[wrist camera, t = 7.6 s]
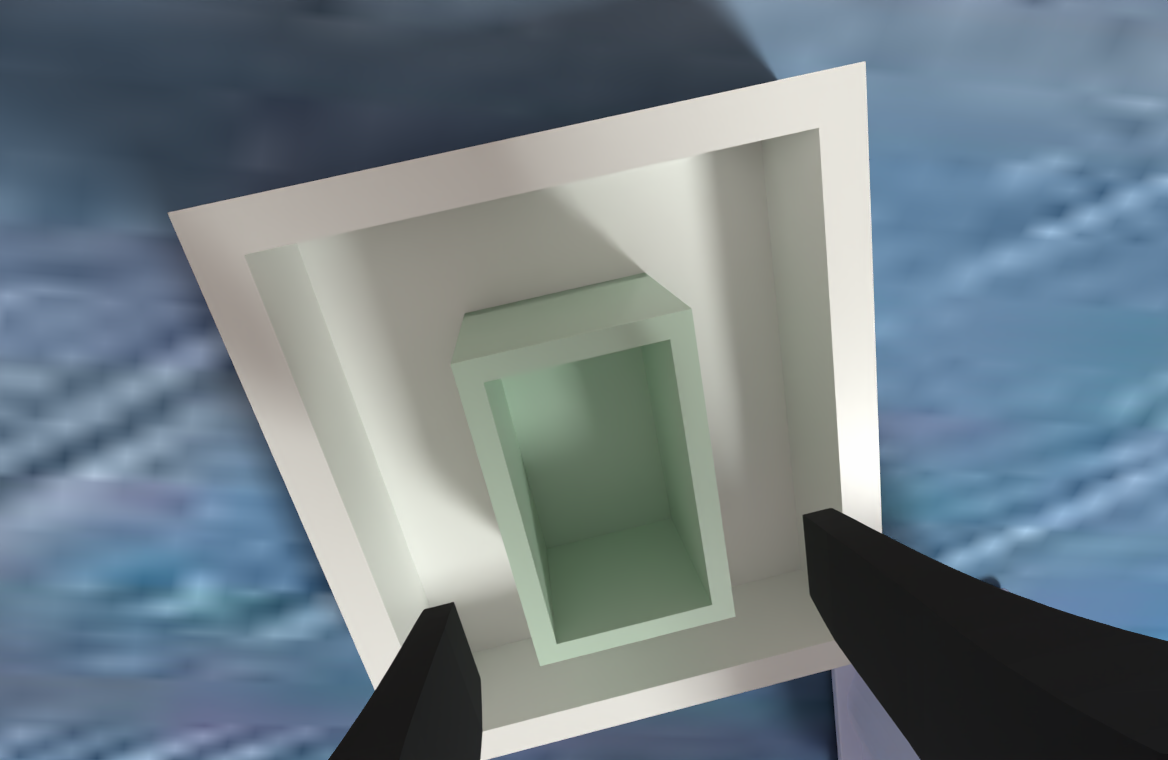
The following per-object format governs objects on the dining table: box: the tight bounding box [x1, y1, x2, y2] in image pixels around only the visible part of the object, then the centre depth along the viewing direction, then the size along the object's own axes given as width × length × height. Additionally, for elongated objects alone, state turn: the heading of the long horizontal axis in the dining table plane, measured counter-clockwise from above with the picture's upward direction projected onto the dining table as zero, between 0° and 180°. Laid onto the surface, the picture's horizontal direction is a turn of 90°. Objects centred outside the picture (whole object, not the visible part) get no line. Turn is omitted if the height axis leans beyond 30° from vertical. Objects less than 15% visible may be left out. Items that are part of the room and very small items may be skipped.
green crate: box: [450, 273, 736, 666], centre depth 18 cm, size 9×6×5 cm, turn 12°
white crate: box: [168, 61, 882, 760], centre depth 19 cm, size 18×16×4 cm
